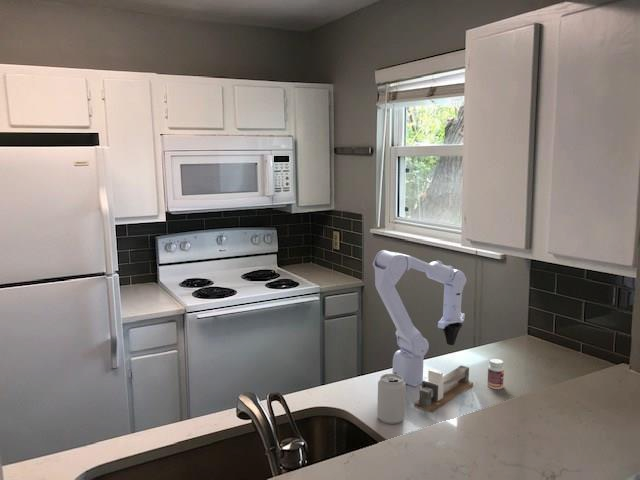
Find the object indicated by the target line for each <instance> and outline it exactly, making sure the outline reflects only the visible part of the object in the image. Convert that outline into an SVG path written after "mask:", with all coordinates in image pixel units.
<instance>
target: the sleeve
mask: <svg viewBox="0 0 640 480" xmlns="http://www.w3.org/2000/svg"><path fill="white" fill-rule="evenodd" d="M427 372H428V373H427V375H428V376H427V378H428V379H426V380H424V381H426V382H429V383H433V384H436V385H438V401H439V400H440V399H442V398H443V384H444V382H442V378H443V376H444V375H443V373H444V372H442V371H439V370H436V369H432V368H430V369H428V371H427ZM433 397H434V396H433Z"/></svg>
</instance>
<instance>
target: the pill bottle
mask: <svg viewBox="0 0 640 480" xmlns="http://www.w3.org/2000/svg"><path fill="white" fill-rule="evenodd" d="M504 372H505V367H504V361H503V360H502V359H498V358H491V359H490V360H489V365H488V368H487V381H486V382H487V383H486V384H487V387H488V388H490V389H494V390H500V389H503V387H504V376H505V373H504Z"/></svg>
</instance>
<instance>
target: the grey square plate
mask: <svg viewBox="0 0 640 480" xmlns="http://www.w3.org/2000/svg"><path fill="white" fill-rule="evenodd" d="M426 386H429V387H432V388H434V397H432V398H431V401H434V402H437V401H438V385H436V384H433V383H429V382H426V381H422V383H421V389H422V388H424V387H426Z"/></svg>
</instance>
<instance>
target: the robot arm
mask: <svg viewBox="0 0 640 480" xmlns="http://www.w3.org/2000/svg"><path fill="white" fill-rule="evenodd" d="M372 266H373V268H374V283H375V284H374V286H375V288H376V291H377V292H378V295H379V297H380V299H381V301H382V302H383V304H384V307H385V309H386V310H387V312H388V315H389V316H390V319H391V320H392V322H393V324H394V327H395V329H396V331H395V334H394V335H396V343H397V345H398V347H399V349H398V350H396V351H395V352H394V354H393V358H392V373H391V374H397V375H400V376H401V377H402V378H403V381H404V382H405V384H406V385H409V386H411V387H415V388H417V386H419V385H422V381H424V380H426V379H428V376H427V377H426V376H424V358H425V355H426V354H427V353H428V351H429V347H430V343H429V341H428V340H427V339H426V337H424V336H423V334H422V333H421V332H420V331H419V330H418V329H417V328H416V326H414V324H413V322H412V319H411V317H410V315H409V313H408V311H407V309H406V307H405V305H404V303H403V301H402V299H401V297H400V294H399V293H398V291H397V289H396V287H395V286H396V285H397V284H398V282H399V280H400V279H401V277H402V276H403V275H404V274H405V272H406V271H410V269H413V270H416V271H418V272H419V271H420V272H423V273H425V275H426V277H427V278H428V279H431V280H433V281H435V282H438V283H441V284H442V285H444V286H443V287H444V288H443V305H442V306H443V308H442V309H443V311H442V317H441V318H440V320H439V321H437V328H438V329H442V331H443V333H444V337H445V340H446V344H447V345H449V346H454V345H455V343H456V340H457V337H458V335H459V331H461V328H462V327H463V322H465V317H466V316H465V315H466V314H465V313H464V312H462V299H463V298H462V297H463V291H464V287H465V285H466V283H467V280H468V279H467V278H466V275H465V273H464V271H462V270H459V269H455V268H453V267H454V266H453V265H445V264H443V262H442V261H440V260H436V261H431V262H429V263H428V262H426V261H424V260H421V259H419V258H416V257H414V256H412V255H408V254H404V253H401V252H395V251H394V252H393V251H388V250H387V249H386V250H385V249H383V250H380V251H379V252H377V253H376V255H375V258H374V259H373V262H372Z"/></svg>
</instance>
